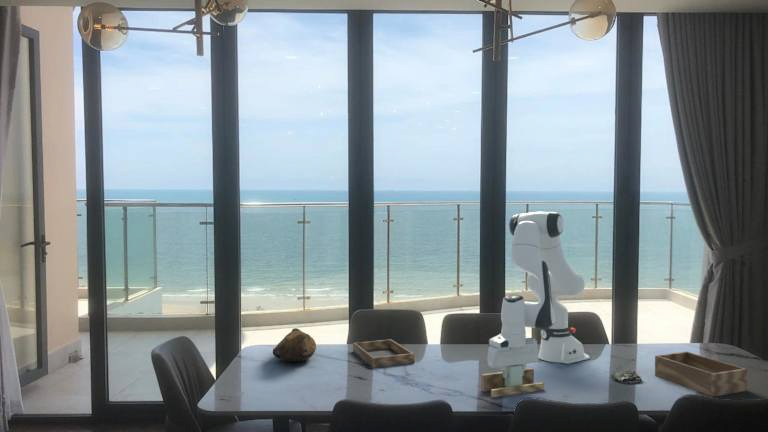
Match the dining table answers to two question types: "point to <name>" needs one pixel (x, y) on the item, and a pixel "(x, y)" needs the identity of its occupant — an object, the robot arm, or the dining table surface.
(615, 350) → the dining table surface
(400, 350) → the rectangular wooden frame
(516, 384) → the cabinet block
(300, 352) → the brown rough lump
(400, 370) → the dining table surface
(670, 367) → the open wooden box
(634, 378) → the mottled grey lump
